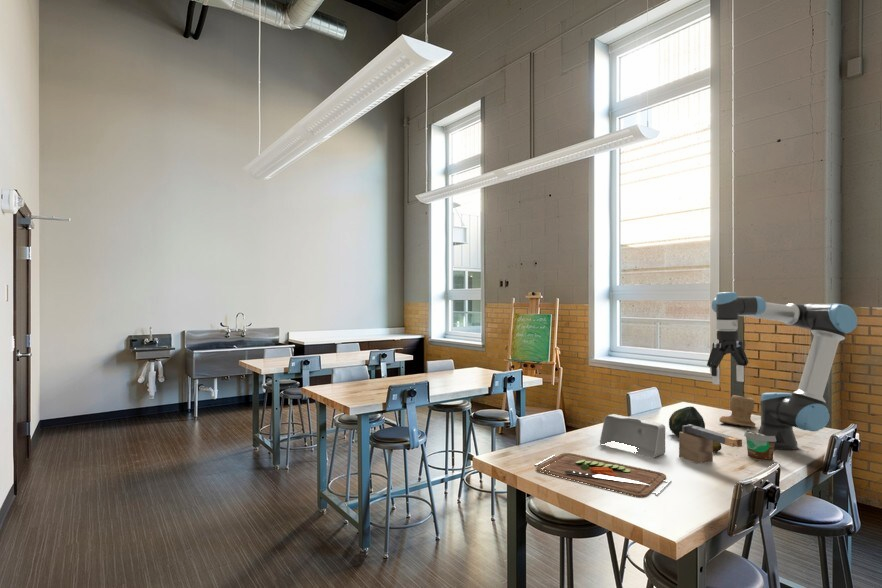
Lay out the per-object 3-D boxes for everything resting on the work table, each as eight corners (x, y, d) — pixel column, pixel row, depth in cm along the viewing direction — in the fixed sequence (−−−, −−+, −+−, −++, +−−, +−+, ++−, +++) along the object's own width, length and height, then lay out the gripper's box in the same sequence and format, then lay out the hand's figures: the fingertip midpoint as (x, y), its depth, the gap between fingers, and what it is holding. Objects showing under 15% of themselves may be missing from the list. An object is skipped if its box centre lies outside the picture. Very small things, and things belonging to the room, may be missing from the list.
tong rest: (694, 454, 207) (694, 424, 207) (745, 473, 186) (745, 439, 186) (679, 456, 204) (679, 425, 205) (728, 475, 183) (728, 441, 183)
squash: (663, 418, 246) (671, 399, 236) (695, 420, 245) (705, 402, 235) (670, 444, 236) (679, 425, 226) (703, 446, 234) (714, 428, 224)
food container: (736, 454, 209) (737, 429, 209) (747, 452, 211) (747, 428, 211) (765, 463, 197) (765, 437, 197) (776, 461, 199) (776, 436, 199)
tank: (673, 451, 212) (673, 421, 212) (654, 459, 201) (654, 427, 202) (619, 438, 231) (619, 411, 231) (599, 444, 221) (599, 416, 221)
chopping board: (676, 479, 180) (676, 470, 180) (652, 502, 160) (652, 493, 160) (559, 454, 209) (559, 446, 209) (527, 471, 188) (527, 462, 188)
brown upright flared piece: (757, 425, 257) (757, 395, 257) (753, 429, 248) (753, 399, 248) (724, 420, 267) (724, 391, 267) (719, 424, 258) (719, 395, 258)
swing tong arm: (690, 431, 204) (690, 424, 204) (736, 446, 184) (736, 437, 184) (685, 432, 203) (685, 424, 203) (732, 446, 183) (732, 438, 183)
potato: (713, 455, 206) (713, 436, 206) (683, 447, 217) (683, 429, 217) (723, 452, 211) (723, 433, 211) (693, 444, 222) (693, 426, 222)
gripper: (712, 332, 196) (713, 386, 196) (757, 329, 205) (758, 381, 205) (696, 331, 203) (697, 383, 203) (740, 328, 212) (741, 379, 212)
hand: (728, 382), depth 204 cm, fingers open, 13 cm apart
